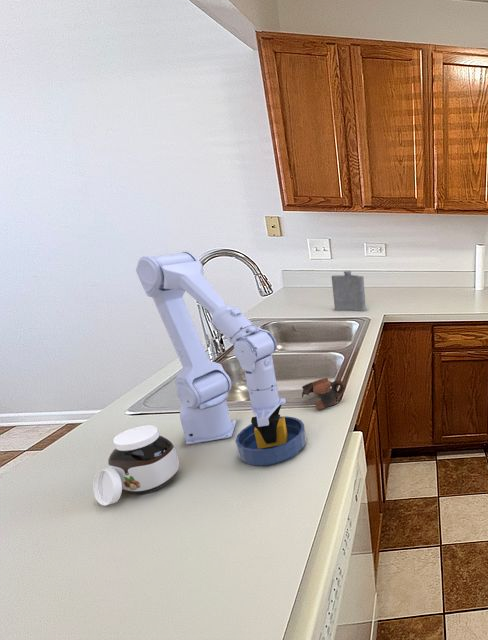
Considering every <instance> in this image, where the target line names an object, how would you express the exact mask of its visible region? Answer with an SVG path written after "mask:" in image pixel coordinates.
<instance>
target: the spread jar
mask: <svg viewBox="0 0 488 640" xmlns="http://www.w3.org/2000/svg"><path fill="white" fill-rule="evenodd" d="M112 443H113V446H114V449H113V450H112V452H111V453H110V454H109V457H108V460H107V464H108V467H105V468H103V469H99V470H97V472H96V473H95V474H94V476H93V479H92V492H93V495H94V498H95V500H96V501H97V502H98V504H99V505H101V506H110V505H113V504H115V503H117V502H118V501H119V500H120V499H121V495H122V491H124V492H127V493H130V494H132V495H145V494H148V493H152V492H155V491H157V490H159V489H162V488H163V487H165V486H166V485H167V484H169V482H171V480H173V479H174V477H175V476H176V475H177V473H178V471H179V469H180V460H179V457H178V454H177V450H176V448H175V445H174V444H173V443H172V441H170V440H169V439H168V438H166V437H164V436H162V435H160V432H159V429H158V427H157V426H156V425H152V424H151V425H150V424H147V425H139V426H135V427H132V428H129V429H126V430H124V431H122V432H119V433H118V434H117V435H116V436H115V437H114V438H113V440H112Z"/></svg>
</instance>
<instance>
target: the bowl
mask: <svg viewBox="0 0 488 640" xmlns="http://www.w3.org/2000/svg"><path fill="white" fill-rule="evenodd" d="M283 417H285V423H286V429H287V434H288V436H287V442H286V443H284V444H282V445H278V446H273V447H267V448H261V449H258V447H257V442H256V437H255V432H254V429H255V427H254V426H253V425H252V423H251V424H248V425H247V426H246V427H244V428H243V429H241V430H240V431H239V433H238V434H237V435H236V437H235V446H236V450H237V454H238V457H239V460H241V461H242V462H244V463H245V464H249V465H250V466H258V467H266V466H272V465H273V466H274V465H277V464H280V463H283V462H285V461H287V460H289V459H291V458H294V456H296V455H297V454H298V453H300V451H301V450H302V449H303V448H304V446H305V445H306V443H307V435H306V428H305V424H304V422H303V421H302V419H299V418H297V417H293V416H287V415H285V416H283V415H282V416H281V415H280V418H283Z"/></svg>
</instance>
